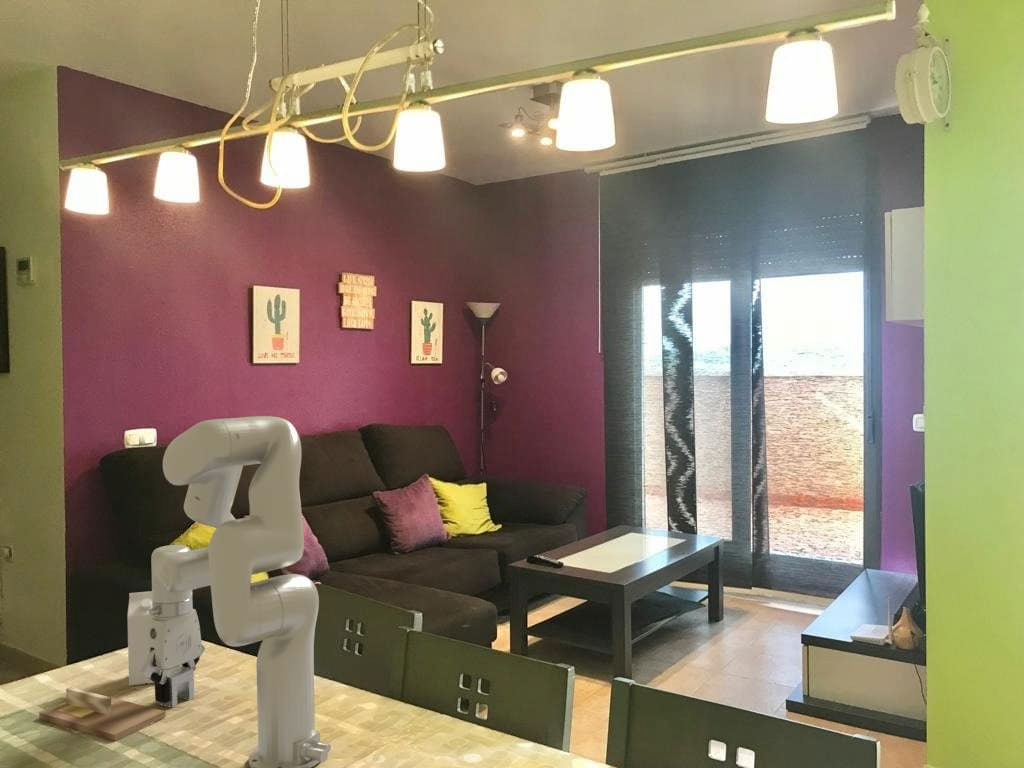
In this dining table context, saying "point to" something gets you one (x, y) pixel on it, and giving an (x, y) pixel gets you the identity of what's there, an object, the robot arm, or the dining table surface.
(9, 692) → the dining table surface
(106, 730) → the rail board
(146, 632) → the milk carton
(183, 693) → the notched grey block
